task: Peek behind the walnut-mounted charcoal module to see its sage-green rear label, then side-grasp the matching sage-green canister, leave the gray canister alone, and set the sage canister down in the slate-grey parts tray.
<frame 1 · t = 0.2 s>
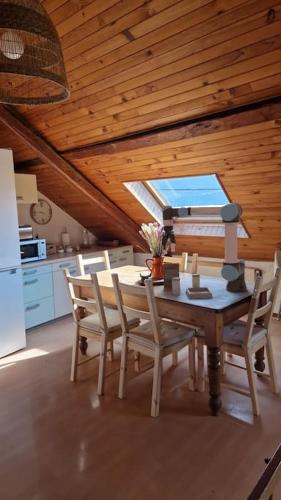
hand: (169, 252, 270), 28 cm above the table, tool pointing down, fingers open, 13 cm apart
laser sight: (147, 286, 282), on the table
sage canister: (196, 290, 264), on the table
parts tray: (198, 294, 251), on the table
gray canister: (176, 294, 254), on the table
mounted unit: (171, 289, 269), on the table
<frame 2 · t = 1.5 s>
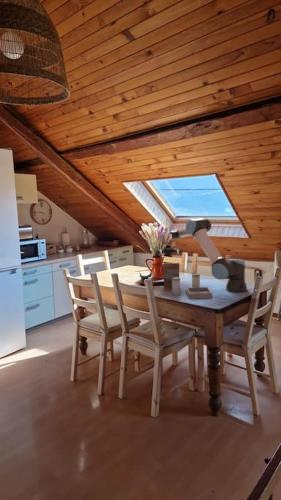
hand: (169, 253, 276), 27 cm above the table, tool horizontal, fingers open, 13 cm apart
nothing on the table moved.
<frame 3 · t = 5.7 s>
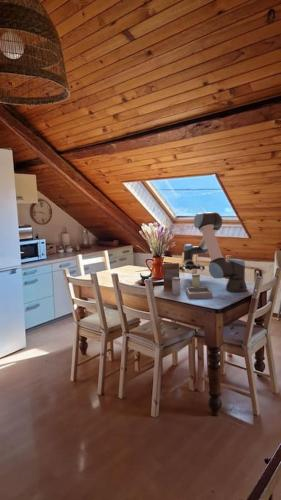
hand: (193, 270, 272), 13 cm above the table, tool horizontal, fingers open, 13 cm apart
nothing on the table moved.
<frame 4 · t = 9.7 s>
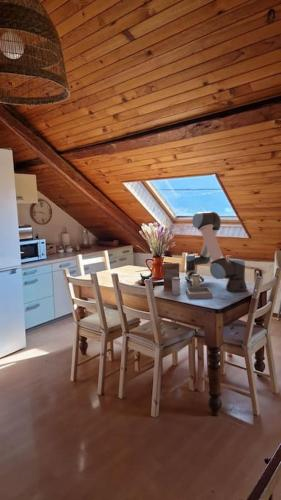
hand: (197, 282, 257), 7 cm above the table, tool horizontal, fingers closed on sage canister, 5 cm apart
sage canister: (196, 290, 264), on the table, touching gripper
everything else where it was.
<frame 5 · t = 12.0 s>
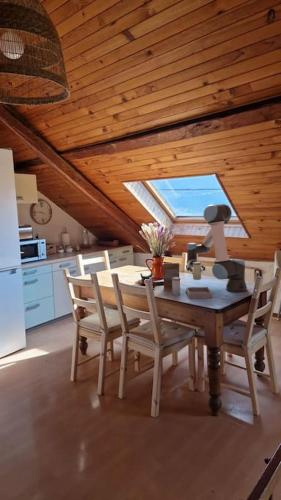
hand: (197, 270, 246), 18 cm above the table, tool horizontal, fingers closed on sage canister, 5 cm apart
sage canister: (197, 279, 253), point 11 cm above the table, touching gripper
when the fingers open (9 cm above the table, at t = 14.6 s): sage canister drops 1 cm, resting on parts tray.
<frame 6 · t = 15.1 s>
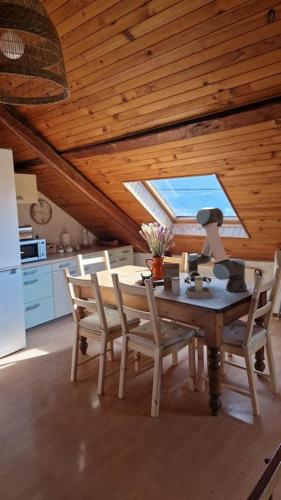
hand: (199, 283, 246), 10 cm above the table, tool horizontal, fingers open, 12 cm apart
sage canister: (198, 293, 251), point 1 cm above the table, touching parts tray
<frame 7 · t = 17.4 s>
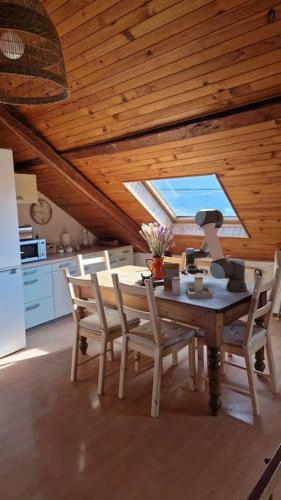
hand: (196, 274, 261), 12 cm above the table, tool horizontal, fingers open, 13 cm apart
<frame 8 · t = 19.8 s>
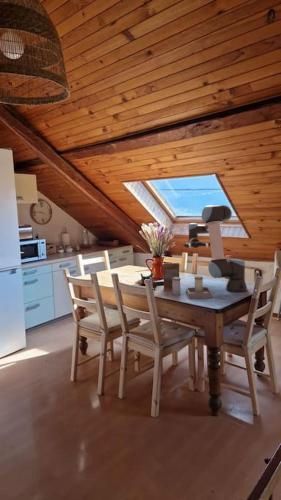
hand: (199, 246, 268), 32 cm above the table, tool horizontal, fingers open, 13 cm apart
at the end: sage canister 0.1 cm from the parts tray (horizontally); sage canister tilted 0°; gray canister moved 0.1 cm from its start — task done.
